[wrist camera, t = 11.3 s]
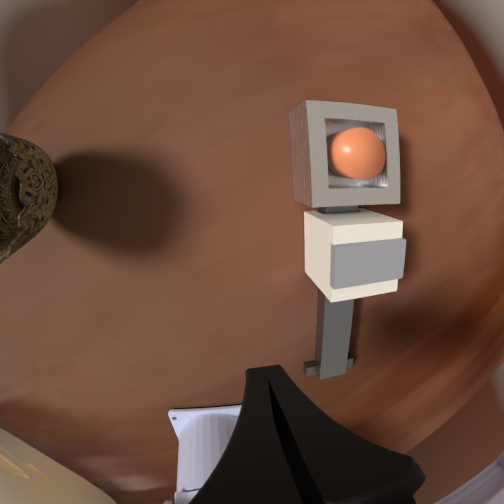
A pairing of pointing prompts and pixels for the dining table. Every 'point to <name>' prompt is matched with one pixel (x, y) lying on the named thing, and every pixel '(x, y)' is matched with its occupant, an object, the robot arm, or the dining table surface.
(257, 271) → the dining table surface
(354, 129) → the button
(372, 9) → the dining table surface
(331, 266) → the block
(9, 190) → the cup
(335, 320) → the rail
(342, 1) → the dining table surface
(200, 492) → the robot arm
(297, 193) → the button housing
